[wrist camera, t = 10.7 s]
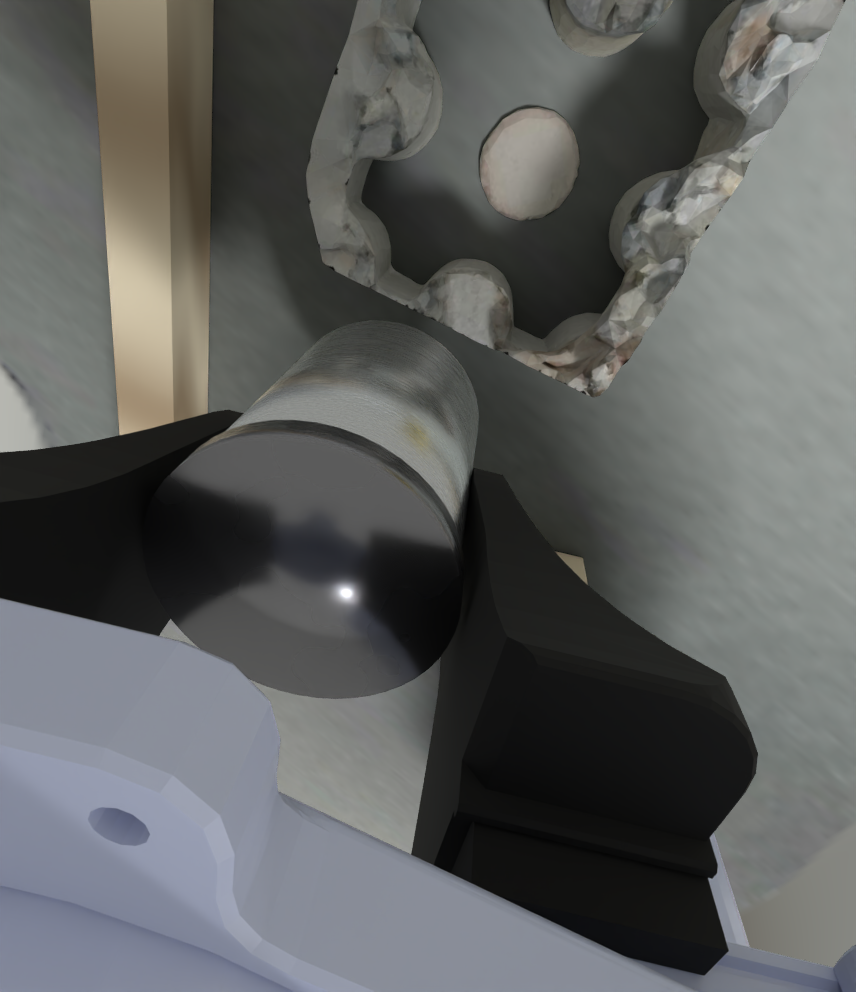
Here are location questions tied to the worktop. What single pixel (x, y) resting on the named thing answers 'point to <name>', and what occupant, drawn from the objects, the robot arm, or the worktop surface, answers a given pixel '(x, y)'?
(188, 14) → the beech bay
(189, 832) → the robot arm
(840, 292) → the worktop surface
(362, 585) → the jar with metallic lid
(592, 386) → the egg carton
